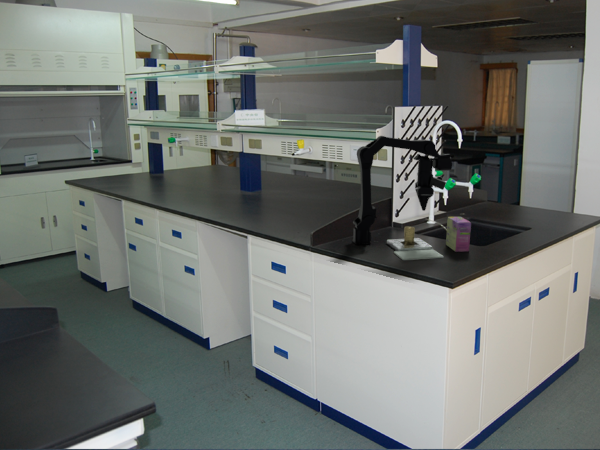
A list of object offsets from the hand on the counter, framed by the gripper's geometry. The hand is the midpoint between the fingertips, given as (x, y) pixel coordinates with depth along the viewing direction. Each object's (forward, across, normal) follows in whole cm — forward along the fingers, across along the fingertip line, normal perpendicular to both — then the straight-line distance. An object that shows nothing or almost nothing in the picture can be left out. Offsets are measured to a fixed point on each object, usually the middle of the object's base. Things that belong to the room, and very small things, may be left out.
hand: (422, 208), depth 216 cm
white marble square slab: (+14, -10, +6) cm, 18 cm away
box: (+14, -10, -14) cm, 22 cm away
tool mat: (+14, -22, +3) cm, 26 cm away
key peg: (+14, -10, +6) cm, 18 cm away
